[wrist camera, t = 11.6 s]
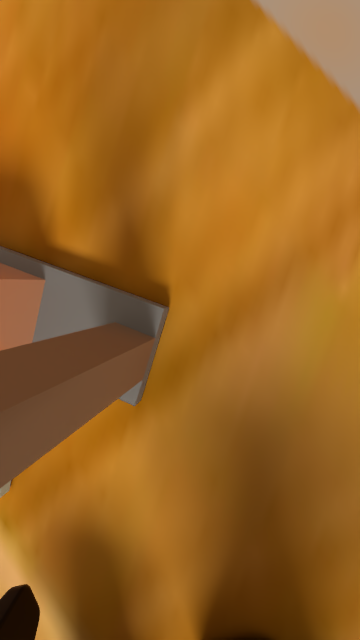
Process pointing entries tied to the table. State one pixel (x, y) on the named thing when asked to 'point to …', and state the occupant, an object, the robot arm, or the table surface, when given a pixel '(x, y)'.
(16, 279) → the terracotta cube
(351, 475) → the table surface
